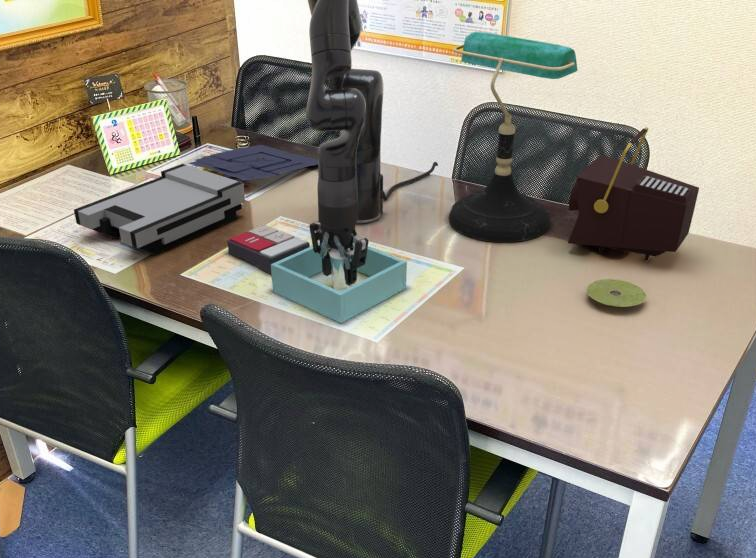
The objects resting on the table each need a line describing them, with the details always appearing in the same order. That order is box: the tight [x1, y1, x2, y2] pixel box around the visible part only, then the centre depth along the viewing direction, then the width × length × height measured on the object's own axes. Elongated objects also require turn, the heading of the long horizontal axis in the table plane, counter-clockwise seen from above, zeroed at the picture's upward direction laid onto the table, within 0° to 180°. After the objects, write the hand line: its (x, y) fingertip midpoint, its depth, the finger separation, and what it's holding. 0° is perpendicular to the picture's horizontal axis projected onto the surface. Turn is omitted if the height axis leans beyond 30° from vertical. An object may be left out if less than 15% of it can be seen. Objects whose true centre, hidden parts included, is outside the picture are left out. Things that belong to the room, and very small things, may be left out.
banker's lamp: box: [448, 31, 578, 243], centre depth 189 cm, size 26×23×40 cm
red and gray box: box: [226, 224, 311, 275], centre depth 185 cm, size 11×4×15 cm
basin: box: [270, 242, 408, 324], centre depth 172 cm, size 19×19×6 cm
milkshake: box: [325, 245, 352, 292], centre depth 171 cm, size 5×5×10 cm
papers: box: [187, 144, 318, 181], centre depth 228 cm, size 24×30×4 cm
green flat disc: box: [586, 278, 647, 308], centre depth 169 cm, size 11×11×2 cm
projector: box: [567, 126, 700, 262], centre depth 181 cm, size 16×23×25 cm
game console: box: [73, 163, 246, 256], centre depth 197 cm, size 21×32×8 cm, turn 141°
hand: (339, 278), depth 172 cm, fingers open, 5 cm apart
